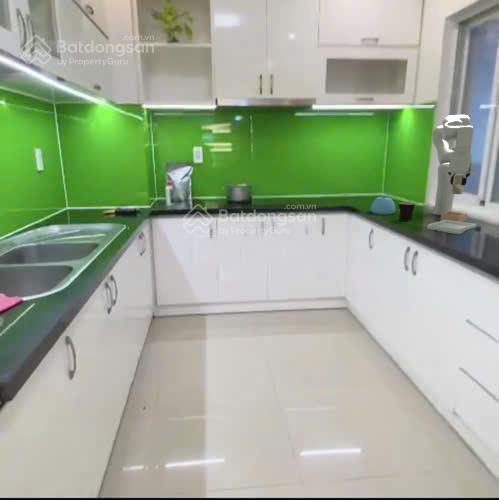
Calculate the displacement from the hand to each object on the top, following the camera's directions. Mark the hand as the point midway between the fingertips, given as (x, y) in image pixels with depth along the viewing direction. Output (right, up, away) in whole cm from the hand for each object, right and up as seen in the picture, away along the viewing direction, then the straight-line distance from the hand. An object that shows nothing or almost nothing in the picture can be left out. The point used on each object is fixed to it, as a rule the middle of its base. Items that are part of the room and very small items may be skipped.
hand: (457, 184), depth 210 cm
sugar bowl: (-28, -12, +37) cm, 48 cm away
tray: (-9, -25, -10) cm, 28 cm away
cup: (0, -20, +5) cm, 21 cm away
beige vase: (0, -5, +1) cm, 5 cm away
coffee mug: (-25, -19, +11) cm, 33 cm away
